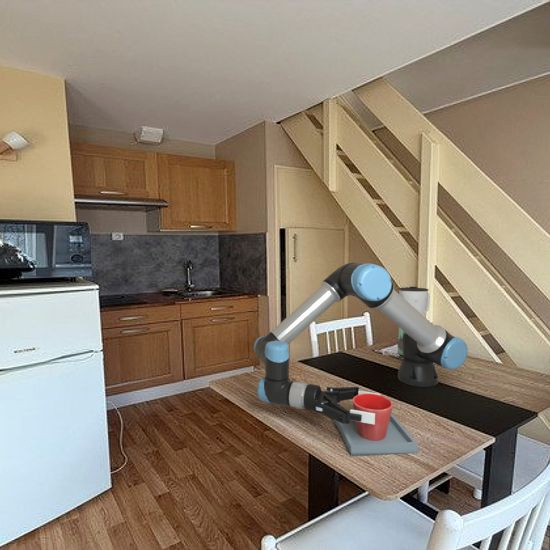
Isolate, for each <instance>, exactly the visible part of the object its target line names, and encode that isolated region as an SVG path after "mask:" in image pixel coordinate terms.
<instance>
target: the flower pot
mask: <svg viewBox="0 0 550 550" xmlns="http://www.w3.org/2000/svg"><path fill="white" fill-rule="evenodd" d="M393 405H394V404H393V402H392V400H390V399H389V398H388V397H385V396H384V395H377V394H360V395H357V396H355V397H354V398H353V399H352V407H353V408H352V409H353V410H357V411H363V412H369V413H375V425H374V424H368V423H363V422H358V421H356V424H357V429H358V433H359V435H360V436H361V437H363V438H365V439H368V440H372V441H376V440H382V439H384V438H385V437H386V433H387V429H388V425H389V421H390V416H391V413H392V411H393Z"/></svg>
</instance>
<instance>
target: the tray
mask: <svg viewBox="0 0 550 550" xmlns="http://www.w3.org/2000/svg"><path fill="white" fill-rule="evenodd" d="M340 418H341V417H340ZM333 420H334V419H333ZM334 424H335V426H336V428H337V430H338V432H339V434H340V436H341V438H342V440H343V442H344V444H345V446H346V447H345V448H347V451H348V453H349V454H350V457H362V456H363V457H364V456H382V455H383V456H384V455H402V454H404V455H406V454H419V442H417V440H416V439H415V438H414V437H413V435H412V434H411V433H410V432H409V431H408V430H407V429H406V428H405V427H404V426H403V424H402V423H401V421H399V420H398V418H397V417H396V416H395V415H394V414H393V412H391V416H390V421H389V425H388V429H387V433H386V437H385V438H384V439H382V440H376V441H372V440H368V439H365V438H363V437H361V436H360V435H359V433H358V429H357V424H356V421H352V420H349V424H346V423H345V424H343V423H340V422H338V421H336V420H334Z"/></svg>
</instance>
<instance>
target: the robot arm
mask: <svg viewBox="0 0 550 550" xmlns="http://www.w3.org/2000/svg"><path fill="white" fill-rule="evenodd" d="M349 296H351V297H355V298H357V299H359V300H360V301H361V303H363V304H364V305H366V306H367V307H368V309H369V308H370V309H378V311H380V313H382V314H383V315H384V316H386V318H387V319H388V320H390V321H391V322H392V323H393V324H395V325H396V326H397V327H398V329H399V328H401V329H402V330H403V357H402V360H401V363H400V366H399V368H398V371H397V379H398V380H399V381H400V382H401V383H403V384H406V385H408V386H413V387H419V388H431V387H435V386H437V385H438V383H439V376H438V372H437V370H436V366H435V365H438V366H440V367H441V368H443V369H448V370H452V371H453V370H456V369H459V368H460V367H461V366H463V365H464V363H465V362H466V360H467V357H468V349H469V348H468V345H467V342H466V341H465V340H464V339H462V338H460V337H459V336H453V335H452V334H451V333H450V332H449V331H448V330H446V329H445V328H444V327H443V326H441V325H440V324H439V325H434V324H433V323H432V322H431V321H430V320H429V319H427V318H426V316H425V315H424V316H423V315H422V314H421V313H420V312H418V311H417V310H416V309H415V308H414V307H413V306H412V305H411V304H409V303H408V302H407V301H406V300H405V299H404V298H403V297H402V296H401V295H399V292H397V291H396V290H395V284H394V282H393V281H392V277H391V275H390V274H389V272H388V271H387V269H385V267H383V266H382V265H381V266H380V265H378V264H374V263H360V262H359V263H358V262H349V263H345V264H343V265H341V266H340V267H338V268H337V269H335V270H334V271H333V272H332V273H330V274H329V275H328V276H327V277H326V278H325V279H324V280H322V281H321V286H320V287H319V288H318V289H316V291H315V292H313V293H312V294H311V295H310V296H309V297H307V299H306V300H304V301H303V302H302V303H301V304H300V305H299V306H298V307H297V308H296V309H294V311H293V312H291V313H290V314H288V316H286V318H284V319H283V320H281V322H280V323H278V325H277V326H275V328H273V329H272V330H271V331H270V332H269V333H267V334H266V335H264V336H262V335H261V336H260V337H258V338H256V339H255V341H254V344H253V350H254V353H255V355H256V356H257V358H258V359H259V360H261V362H262V363H263V364H264V368H265V372H264V373H265V374H264V375H265V376H264V377H262V378H261V379H260V380H259V382H258V384H257V386H258V387H257V391H256V393H257V397H258V399H259V400H260V401H262V402H264V403H267V404H268V403H269V404H270V405H271V404H272V405H281V406H286V407H291V408H295V409H297V410H298V409H301V410H302V409H303V410H304V409H305V410H306V411H312V412H315V413H316V414H321V415H324V416H326V417H328V418H330V419H332V420H336V421H338V422H340V423H343V424H345V423H346V424H349V420H352V421H358V422H363V423H368V424H374V425H375V413H369V412H363V411H357V410H354V409H353V408H352V409H350V410H348V409H346V408H345V407H344V406H342V405H341V404H339V403H340V402H342V401H343V402H344V401H348V400H353V398H354V397H355V396H357V395H360V394H377V395H381V393H378V392H371V391H365V390H360V387H359V386H345V387H344V386H342V387H341V386H340V387H339V386H338V387H331V386H327V387H326V390H322V387H321V386H320V385H318V384H312V383H309V384H307V383H306V382H300V381H292V380H290V375H289V374H290V351H289V350H290V349H289V344H291V343H292V342H293V341H294V340H295V339H296V338H297V337H298V336H299V335H300V334H301V333H303V332H304V331H305V330H306V329H307V328H308V327H309V326H311V324H313V323H314V322H315V321H316V320H317V319H318V318H319V317H321V315H322V314H324V313H325V312H326V311H327V310H328V309H329V308H330V307H331V306H332V305H333V304H335V303H336V302H337V303H339V302H341V301H342V300H343V299H344V298H346V297H349ZM381 396H382V395H381ZM340 417H341V418H340Z"/></svg>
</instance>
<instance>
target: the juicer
mask: <svg viewBox="0 0 550 550" xmlns="http://www.w3.org/2000/svg"><path fill="white" fill-rule="evenodd" d="M429 290H430V289H429V288H424V287H417V286H407V287H404V286H403V287H399V288H398V294H399V295H401V296H402V297H403V298H404V299H405V300H406V301H407V302H408V303H409V304H411V305H412V306H413V307H414V308H415V309H416V310H417V311H418V312H420V313H421V314H422V315H423V316H424V317H425V314H427V312H428V311H430V301H431V300H430V293H429ZM397 332H398V337H397V340H398V341H397V355H398V354H399V355H400V356H402V357H401V358H403V330H402V329H401V328H399V327H398V331H397Z"/></svg>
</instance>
